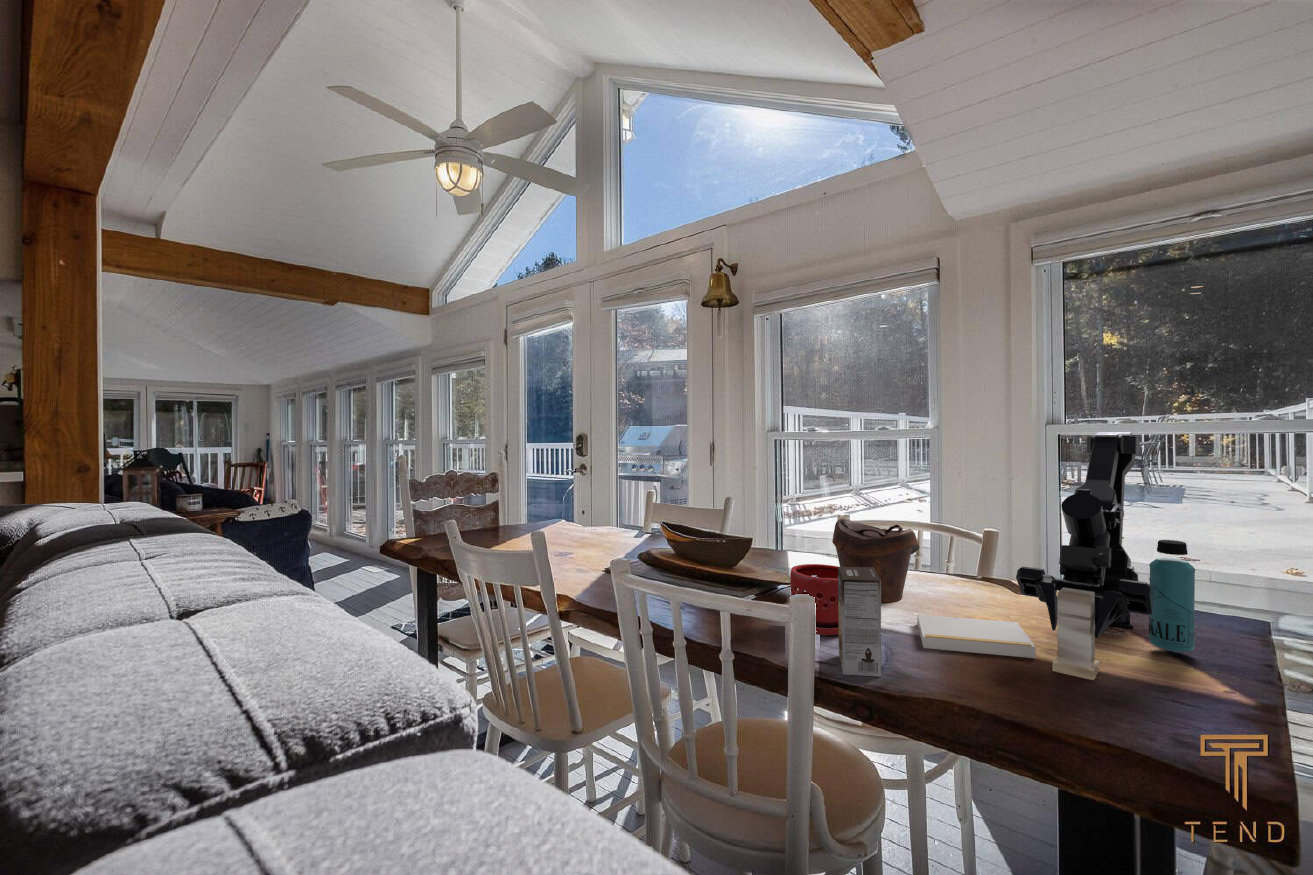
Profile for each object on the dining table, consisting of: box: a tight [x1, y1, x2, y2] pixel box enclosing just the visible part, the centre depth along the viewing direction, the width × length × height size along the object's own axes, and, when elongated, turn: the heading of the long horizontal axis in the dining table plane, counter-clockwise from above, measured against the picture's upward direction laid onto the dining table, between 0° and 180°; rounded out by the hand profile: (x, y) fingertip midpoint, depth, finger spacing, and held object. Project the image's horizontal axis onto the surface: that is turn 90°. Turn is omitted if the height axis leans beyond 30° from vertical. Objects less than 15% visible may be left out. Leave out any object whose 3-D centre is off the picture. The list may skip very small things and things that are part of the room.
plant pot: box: [789, 563, 839, 636], centre depth 125 cm, size 13×13×12 cm
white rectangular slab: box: [916, 614, 1036, 659], centre depth 118 cm, size 18×14×2 cm
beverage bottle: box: [1148, 539, 1197, 652], centre depth 109 cm, size 6×7×20 cm
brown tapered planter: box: [831, 518, 920, 603], centre depth 148 cm, size 18×20×18 cm
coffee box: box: [838, 566, 882, 678], centre depth 106 cm, size 9×6×16 cm
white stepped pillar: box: [1052, 587, 1101, 681], centre depth 102 cm, size 6×6×13 cm
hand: (1074, 632), depth 101 cm, fingers open, 6 cm apart
